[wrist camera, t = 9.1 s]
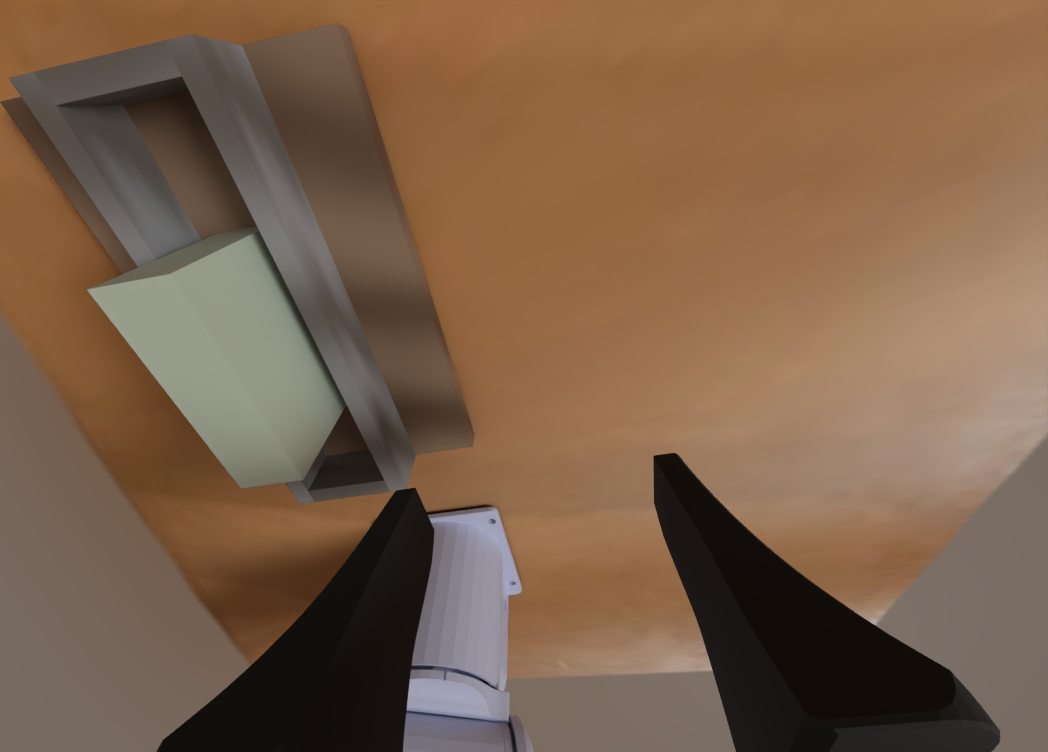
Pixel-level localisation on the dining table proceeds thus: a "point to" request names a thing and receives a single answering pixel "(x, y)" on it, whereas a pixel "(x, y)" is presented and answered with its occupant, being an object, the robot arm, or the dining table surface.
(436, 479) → the dining table surface
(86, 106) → the grey metal tray
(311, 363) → the panel
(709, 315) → the dining table surface
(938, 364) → the dining table surface
